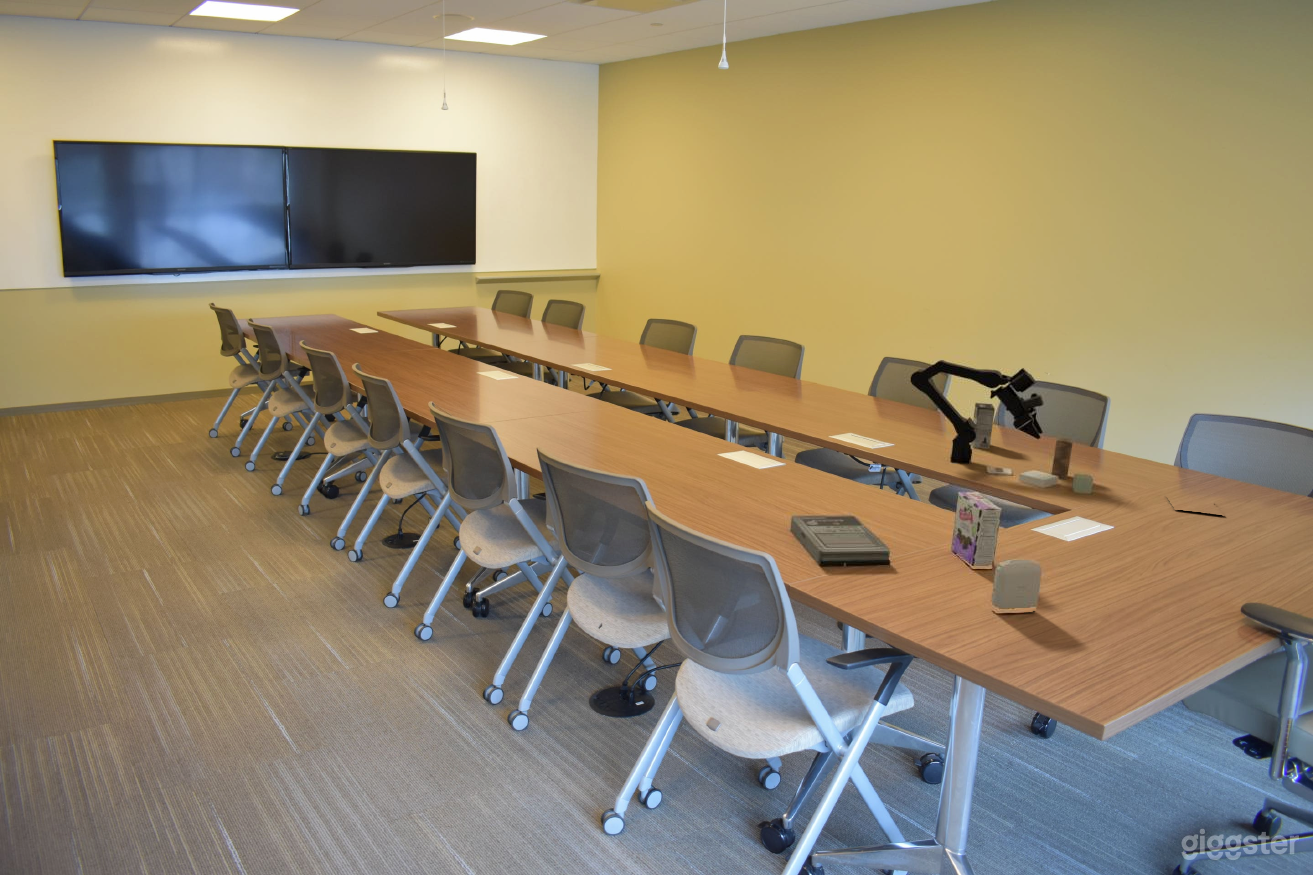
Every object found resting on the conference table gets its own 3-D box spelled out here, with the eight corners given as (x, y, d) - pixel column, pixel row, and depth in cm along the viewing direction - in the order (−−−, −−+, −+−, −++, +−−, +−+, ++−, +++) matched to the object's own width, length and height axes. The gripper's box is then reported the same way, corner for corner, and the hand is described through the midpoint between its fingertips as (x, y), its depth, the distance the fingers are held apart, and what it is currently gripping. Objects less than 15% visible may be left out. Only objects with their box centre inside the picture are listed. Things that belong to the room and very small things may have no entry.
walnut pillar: (1051, 476, 318) (1056, 440, 315) (1052, 473, 323) (1057, 437, 320) (1066, 479, 316) (1072, 442, 313) (1067, 475, 321) (1073, 439, 317)
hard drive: (819, 568, 229) (821, 551, 228) (789, 530, 255) (790, 515, 254) (889, 567, 232) (891, 550, 231) (852, 530, 258) (854, 515, 256)
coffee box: (969, 442, 363) (974, 402, 359) (986, 443, 362) (992, 403, 358) (972, 447, 354) (978, 407, 350) (990, 449, 353) (995, 408, 349)
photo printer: (996, 616, 205) (1004, 564, 202) (986, 607, 209) (994, 556, 206) (1038, 614, 206) (1046, 562, 203) (1028, 606, 210) (1035, 555, 207)
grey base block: (1018, 482, 312) (1019, 473, 311) (1032, 478, 317) (1033, 469, 316) (1043, 489, 305) (1044, 480, 304) (1057, 484, 310) (1058, 476, 309)
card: (987, 472, 320) (987, 470, 320) (986, 468, 326) (986, 465, 326) (1011, 475, 318) (1012, 473, 318) (1010, 470, 324) (1010, 468, 323)
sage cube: (1074, 492, 301) (1076, 477, 300) (1072, 488, 306) (1074, 473, 305) (1090, 494, 300) (1093, 479, 299) (1088, 489, 305) (1090, 475, 304)
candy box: (949, 550, 244) (957, 490, 240) (971, 550, 245) (979, 491, 241) (971, 570, 231) (979, 507, 227) (994, 570, 231) (1002, 508, 227)
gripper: (1028, 390, 310) (1058, 427, 308) (1033, 382, 326) (1062, 417, 324) (1000, 410, 315) (1030, 446, 313) (1007, 401, 331) (1035, 435, 329)
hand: (1040, 435), depth 320 cm, fingers open, 9 cm apart
